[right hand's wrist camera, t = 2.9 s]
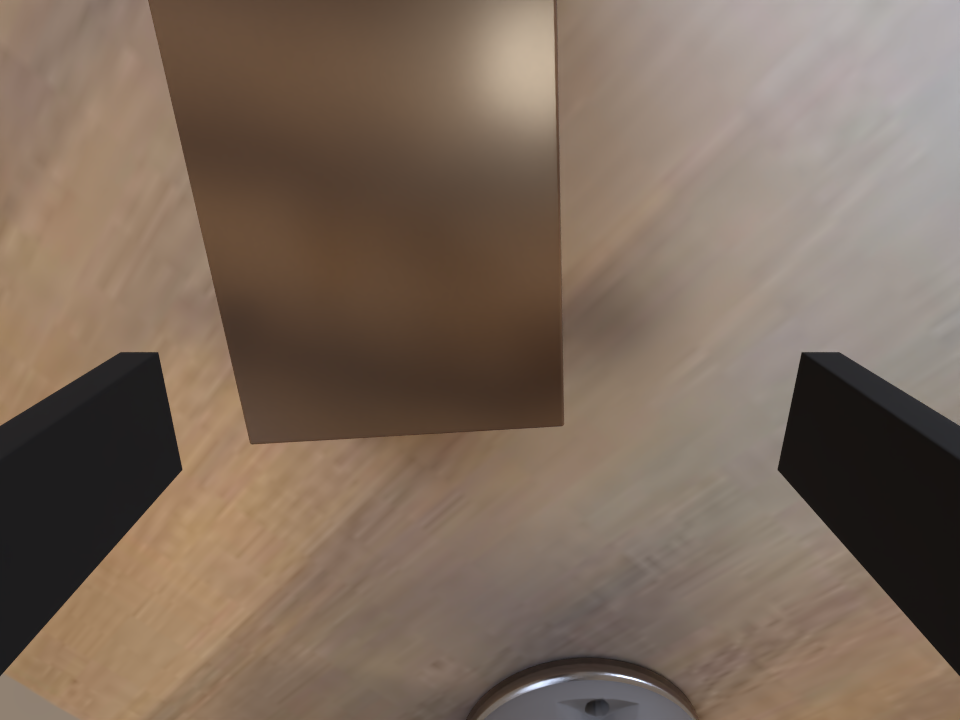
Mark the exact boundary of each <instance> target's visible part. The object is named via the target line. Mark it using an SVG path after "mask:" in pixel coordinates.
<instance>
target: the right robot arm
mask: <svg viewBox="0 0 960 720" xmlns="http://www.w3.org/2000/svg"><path fill="white" fill-rule="evenodd" d="M181 471H182V466H181V461H180V456H179V451H178V446H177V441H176V436H175V432H174V427H173V422H172V417H171V412H170V407H169V402H168V398H167V393H166V388H165V383H164V378H163V373H162V368H161V364H160V359H159V354H158V352H120V353H119V354H117V355H116V356H114V357H112V358H111V359H109V360H107V361H106V362H104V363H102V364H101V365H99V366H98V367H96V368H94V369H93V370H91V371H89V372H88V373H86V374H84V375H83V376H81V377H80V378H78V379H76V380H75V381H73V382H71V383H70V384H68V385H66V386H65V387H63V388H62V389H60V390H58V391H57V392H55V393H53V394H52V395H50V396H48V397H47V398H45V399H44V400H42V401H40V402H39V403H37V404H35V405H34V406H32V407H31V408H29V409H27V410H26V411H24V412H22V413H21V414H19V415H17V416H16V417H14V418H13V419H11V420H9V421H8V422H6V423H4V424H3V425H1V426H0V676H1V675H2V673H3V672H4V671H5V670H6V669H7V668H8V667H9V666H10V664H11V663H12V662H13V661H14V660H15V659H16V658H17V657H18V655H19V654H20V653H21V652H22V651H23V650H24V649H25V647H26V646H27V645H28V644H29V643H30V642H31V641H32V640H33V638H34V637H35V636H36V635H37V634H38V633H39V632H40V630H41V629H42V628H43V627H44V626H45V625H46V624H47V623H48V621H49V620H50V619H51V618H52V617H53V616H54V615H55V613H56V612H57V611H58V610H59V609H60V608H61V607H62V606H63V604H64V603H65V602H66V601H67V600H68V599H69V598H70V596H71V595H72V594H73V593H74V592H75V591H76V590H77V589H78V587H79V586H80V585H81V584H82V583H83V582H84V581H85V579H86V578H87V577H88V576H89V575H90V574H91V573H92V572H93V570H94V569H95V568H96V567H97V566H98V565H99V564H100V562H101V561H102V560H103V559H104V558H105V557H106V556H107V555H108V553H109V552H110V551H111V550H112V549H113V548H114V547H115V545H116V544H117V543H118V542H119V541H120V540H121V539H122V538H123V536H124V535H125V534H126V533H127V532H128V531H129V530H130V528H131V527H132V526H133V525H134V524H135V523H136V522H137V521H138V519H139V518H140V517H141V516H142V515H143V514H144V513H145V512H146V510H147V509H148V508H149V507H150V506H151V505H152V504H153V502H154V501H155V500H156V499H157V498H158V497H159V496H160V495H161V493H162V492H163V491H164V490H165V489H166V488H167V487H168V485H169V484H170V483H171V482H172V481H173V480H174V479H175V478H176V476H177V475H178V474H179V473H180V472H181ZM778 471H779V472H780V473H781V474H782V475H783V476H784V478H785V479H786V480H787V481H788V482H789V483H790V484H791V485H792V487H793V488H794V489H795V490H796V491H797V492H798V493H799V495H800V496H801V497H802V498H803V499H804V500H805V501H806V502H807V504H808V505H809V506H810V507H811V508H812V509H813V510H814V512H815V513H816V514H817V515H818V516H819V517H820V518H821V519H822V521H823V522H824V523H825V524H826V525H827V526H828V527H829V528H830V530H831V531H832V532H833V533H834V534H835V535H836V536H837V538H838V539H839V540H840V541H841V542H842V543H843V544H844V545H845V547H846V548H847V549H848V550H849V551H850V552H851V553H852V555H853V556H854V557H855V558H856V559H857V560H858V561H859V562H860V564H861V565H862V566H863V567H864V568H865V569H866V570H867V572H868V573H869V574H870V575H871V576H872V577H873V578H874V579H875V581H876V582H877V583H878V584H879V585H880V586H881V587H882V589H883V590H884V591H885V592H886V593H887V594H888V595H889V596H890V598H891V599H892V600H893V601H894V602H895V603H896V604H897V606H898V607H899V608H900V609H901V610H902V611H903V612H904V613H905V615H906V616H907V617H908V618H909V619H910V620H911V621H912V623H913V624H914V625H915V626H916V627H917V628H918V629H919V630H920V632H921V633H922V634H923V635H924V636H925V637H926V638H927V640H928V641H929V642H930V643H931V644H932V645H933V646H934V647H935V649H936V650H937V651H938V652H939V653H940V654H941V655H942V657H943V658H944V659H945V660H946V661H947V662H948V663H949V664H950V666H951V667H952V668H953V669H954V670H955V671H956V672H957V673H958V675H959V676H960V426H959V425H957V424H956V423H954V422H952V421H951V420H949V419H947V418H946V417H944V416H943V415H941V414H939V413H938V412H936V411H934V410H933V409H931V408H929V407H928V406H926V405H925V404H923V403H921V402H920V401H918V400H916V399H915V398H913V397H912V396H910V395H908V394H907V393H905V392H903V391H902V390H900V389H898V388H897V387H895V386H894V385H892V384H890V383H889V382H887V381H885V380H884V379H882V378H880V377H879V376H877V375H876V374H874V373H872V372H871V371H869V370H867V369H866V368H864V367H862V366H861V365H859V364H858V363H856V362H854V361H853V360H851V359H849V358H848V357H846V356H844V355H843V354H841V353H840V352H802V354H801V359H800V364H799V368H798V373H797V378H796V383H795V388H794V393H793V398H792V402H791V407H790V412H789V417H788V422H787V427H786V432H785V436H784V441H783V446H782V451H781V456H780V461H779V466H778ZM466 720H699V719H698V716H697V714H696V711H695V709H694V708H693V706H692V704H691V703H690V701H689V700H688V699H687V697H686V696H685V695H684V694H683V693H682V692H681V691H680V690H679V689H678V688H677V687H676V686H675V685H673V684H672V683H671V682H670V681H668V680H667V679H665V678H663V677H662V676H660V675H658V674H656V673H654V672H652V671H650V670H648V669H645V668H643V667H640V666H637V665H634V664H631V663H627V662H623V661H618V660H612V659H604V658H572V659H563V660H557V661H552V662H548V663H544V664H540V665H537V666H534V667H531V668H528V669H525V670H523V671H521V672H518V673H516V674H514V675H512V676H510V677H508V678H507V679H505V680H503V681H502V682H500V683H499V684H497V685H496V686H495V687H493V688H492V689H491V690H489V691H488V692H487V693H486V694H485V695H484V696H483V697H482V698H481V699H480V700H479V701H478V702H477V704H476V705H475V706H474V707H473V709H472V710H471V712H470V713H469V715H468V717H467V719H466Z"/></svg>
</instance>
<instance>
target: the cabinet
mask: <svg viewBox="0 0 960 720" xmlns="http://www.w3.org/2000/svg"><path fill="white" fill-rule="evenodd" d="M148 1H149V5H150V10H151V14H152V18H153V23H154V27H155V31H156V36H157V40H158V44H159V49H160V53H161V58H162V62H163V66H164V71H165V75H166V79H167V84H168V88H169V92H170V97H171V101H172V105H173V110H174V114H175V118H176V123H177V127H178V131H179V136H180V140H181V144H182V149H183V153H184V157H185V162H186V166H187V170H188V175H189V179H190V184H191V188H192V192H193V197H194V201H195V205H196V210H197V214H198V218H199V223H200V227H201V231H202V236H203V240H204V244H205V249H206V253H207V257H208V262H209V266H210V270H211V275H212V279H213V283H214V288H215V292H216V296H217V301H218V305H219V310H220V314H221V318H222V323H223V327H224V331H225V336H226V340H227V344H228V349H229V353H230V357H231V362H232V366H233V370H234V375H235V379H236V383H237V388H238V392H239V396H240V401H241V405H242V409H243V414H244V418H245V422H246V427H247V431H248V436H249V440H250V443H251V444H266V443H283V442H300V441H317V440H334V439H351V438H368V437H385V436H402V435H419V434H436V433H453V432H470V431H487V430H504V429H521V428H538V427H555V426H563V425H564V391H563V334H562V277H561V220H560V163H559V105H558V48H557V0H148Z"/></svg>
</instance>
